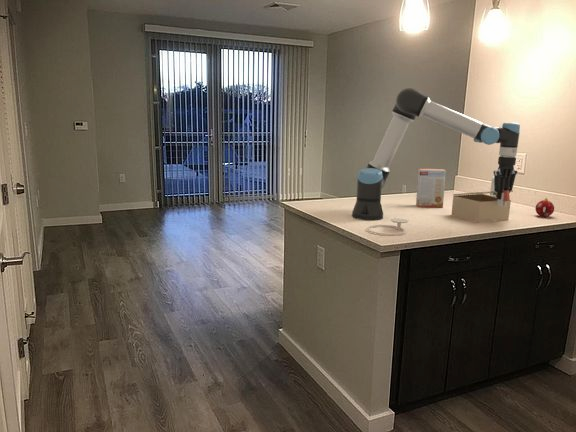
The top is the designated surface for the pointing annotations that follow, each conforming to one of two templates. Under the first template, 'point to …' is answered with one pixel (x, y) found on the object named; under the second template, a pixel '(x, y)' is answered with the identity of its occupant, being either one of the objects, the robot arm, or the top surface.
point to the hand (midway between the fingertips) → (501, 205)
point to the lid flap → (506, 193)
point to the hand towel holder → (395, 220)
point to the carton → (479, 208)
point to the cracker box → (430, 188)
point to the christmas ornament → (544, 208)
